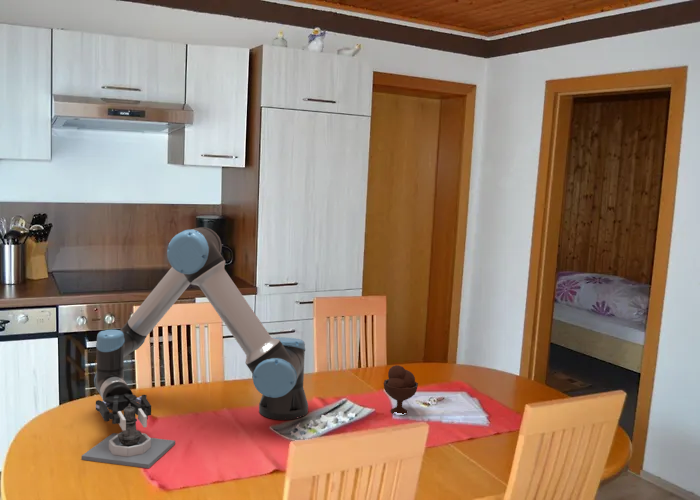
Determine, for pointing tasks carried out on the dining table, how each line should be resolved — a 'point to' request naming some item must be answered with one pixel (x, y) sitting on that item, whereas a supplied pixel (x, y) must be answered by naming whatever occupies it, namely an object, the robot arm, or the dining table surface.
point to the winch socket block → (129, 451)
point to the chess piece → (130, 429)
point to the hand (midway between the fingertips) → (134, 423)
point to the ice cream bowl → (400, 386)
